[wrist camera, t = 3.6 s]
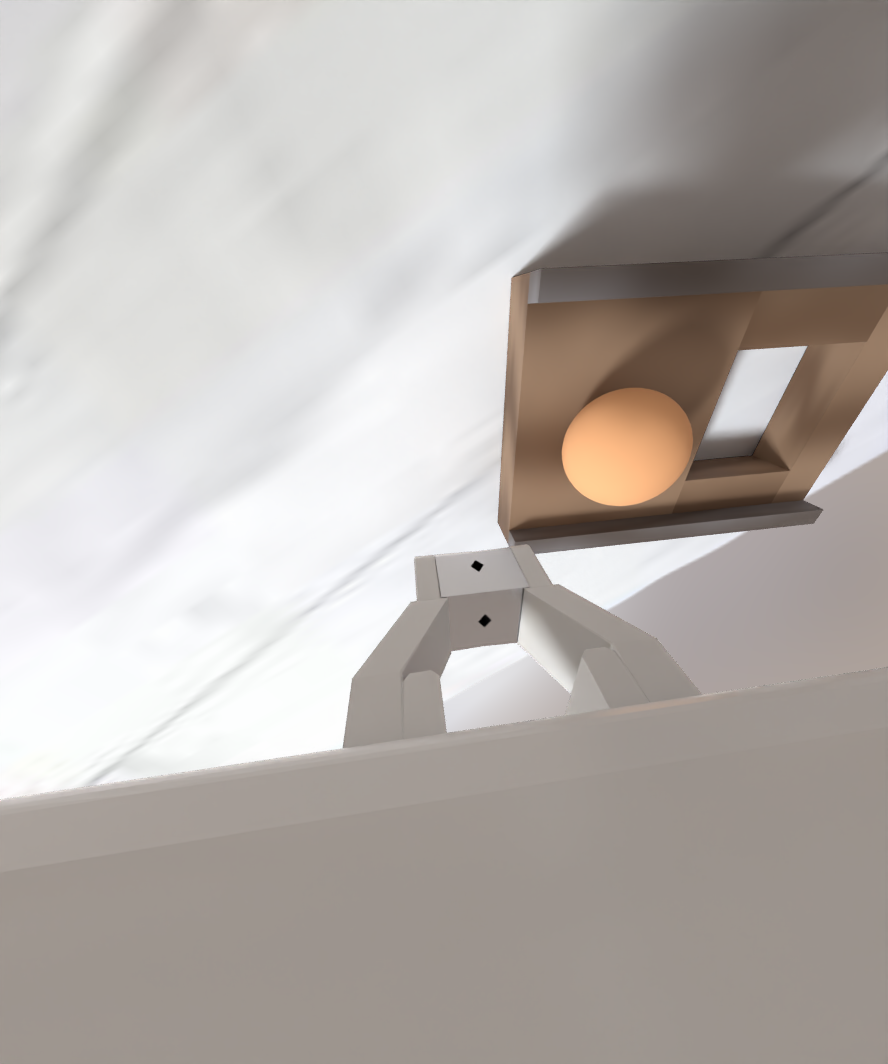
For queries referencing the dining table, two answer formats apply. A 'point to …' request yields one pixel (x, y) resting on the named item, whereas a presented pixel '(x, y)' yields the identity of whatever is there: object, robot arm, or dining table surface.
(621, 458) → the ball
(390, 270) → the dining table surface
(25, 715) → the dining table surface
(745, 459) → the lane
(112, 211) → the dining table surface
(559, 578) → the dining table surface
